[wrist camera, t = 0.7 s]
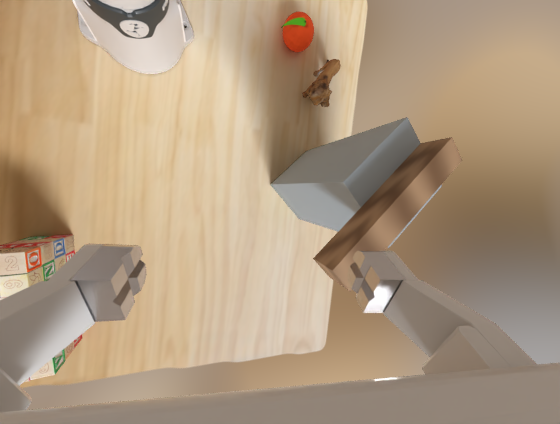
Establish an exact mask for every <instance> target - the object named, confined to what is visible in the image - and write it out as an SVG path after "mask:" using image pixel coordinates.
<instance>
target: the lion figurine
mask: <svg viewBox="0 0 560 424" xmlns="http://www.w3.org/2000/svg"><path fill="white" fill-rule="evenodd" d="M339 69H340V61H339V60H336V59H333V60H330V61H329V60H327V63H326V64H325V65H324V66H323V67H322V68H321V69H320V70H318V71H316V72H314V76H315V77H317V76H318V75H319V74H320V75H319V76H318V77H317V79H316V81H315V82H313V83H312V85H311V86H310V87H309V88H308V89H307V91H305V92H303V97H307V96H308V94H309V98H311V100H312V102H313V104H314V105H316V106H317V105H319V104H321V106H322V107H328V106H329V96H330V94H331V92H332V91H331V90H329V87H328V86H329V83H330V81H331V79H332V77H333V76H334V75H335V74H336V73H337V72H338V71H339Z"/></svg>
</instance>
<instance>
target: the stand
mask: <svg viewBox="0 0 560 424" xmlns="http://www.w3.org/2000/svg"><path fill="white" fill-rule="evenodd" d="M420 144H421V143H420V141H419V139H418V137H417V135H416V133H415V132H414V129H413V127H412V125H411V124H410V122H409V120H408V118H407V117H406V118H403V119H401V120H397V121H394V122H391V123H389V124H385V125H382V126H379V127H376V128H374V129H370V130H368V131H365V132H362V133H359V134H356V135H353V136H350V137H347V138H344V139H341V140H338V141H335V142H332V143H329V144H326V145H323V146H320V147H317V148H314V149H311V150H308V151H306V152H305V153H304V154H303V155H302V156H300V157H299V158H298V159H297V160H296V161H295V162H294V163H293V164H292V165H291V166H290V167H289V168H288V169H287V170H285V171H284V172H283V173H282V174H281V175H280V176H279V177H278V178H277V179H276V180H275V181H274V182H273V183H271V184H270V185H271V186H272V187H273V188H274V189H275V191H276V192H277V193H278V194H279V195H280V197H281V198H282V199H283V200H284V201H285V203H286V204H287V205H288V206H289V207H290V209H291V210H292V211H293V212H294V213H295V215H296V216H297V217H298V218H299V219H301V220H304V221H307V222H310V223H313V224H316V225H319V226H322V227H326V228H329V229H332V230H335V231H338V232H339V230H340V229H341V228H342V227H343V226H344V225H345V224H346V223H347V222H348V221H349V220H350V219H351V218H352V217H353V215H354V214H355V213H356V212H357V211H358V210H359V209H360V208H361V207H362V206H363V205H364V204H365V203H366V202H367V200H368V199H369V198H370V197H371V196H372V195H373V194H374V193H375V192H376V191H377V190H378V189H379V188H380V186H381V185H382V184H383V183H384V182H385V181H386V180H387V179H388V178H389V177H390V176H391V175H392V174H393V173H394V171H395V170H396V169H397V168H398V167H399V166H400V165H401V164H402V163H403V162H404V161H405V160H406V159H407V158H408V156H409V155H410V154H411V153H412V152H413V151H414V150H415V149H416V148H417V147H418V146H419V145H420ZM441 186H442V185H441ZM441 186H440V187H441ZM440 187H439V188H438V189H437V190H436V191H435V193H436V192H437V191H438V190H439V189H440ZM435 193H434V194H433V195H435ZM433 195H432V196H431V197H430V199H431V198H432V197H433ZM430 199H429V200H430ZM429 200H428V201H429ZM428 201H427V202H426V203H425V204H424V206H425V205H426V204H427V203H428ZM424 206H423V207H424ZM423 207H422V208H421V209H420V210H419V211H418V213H419V212H420V211H421V210H422V209H423ZM418 213H417V214H418ZM417 214H416V215H415V216H414V217H413V218H412V220H413V219H414V218H415V217H416V216H417ZM412 220H411V221H412ZM411 221H410V222H409V223H408V224H407V225H406V227H407V226H408V225H409V224H410V223H411ZM406 227H405V228H404V229H403V230H402V231H401V232H400V234H401V233H402V232H403V231H404V230H405V229H406ZM400 234H399V235H398V236H397V237H396V238H395V239H394V241H395V240H396V239H397V238H398V237H399V236H400ZM394 241H393V242H392V243H391V244H390V245H389V246H388V248H389V247H390V246H391V245H392V244H393V243H394Z"/></svg>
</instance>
